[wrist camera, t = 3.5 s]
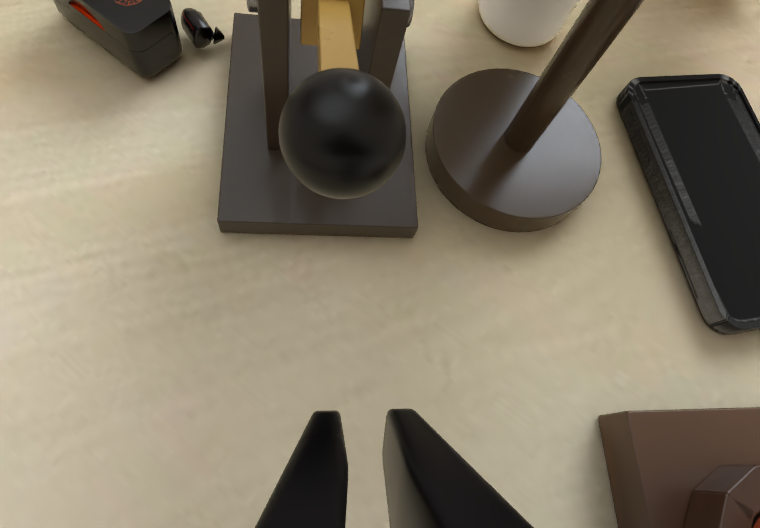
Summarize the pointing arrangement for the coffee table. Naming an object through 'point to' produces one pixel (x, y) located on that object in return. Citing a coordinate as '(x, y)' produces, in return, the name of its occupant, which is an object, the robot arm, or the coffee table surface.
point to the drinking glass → (526, 19)
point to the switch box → (684, 467)
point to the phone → (704, 185)
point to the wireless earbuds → (139, 30)
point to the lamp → (524, 132)
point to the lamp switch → (261, 125)
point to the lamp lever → (340, 110)
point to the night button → (757, 523)
